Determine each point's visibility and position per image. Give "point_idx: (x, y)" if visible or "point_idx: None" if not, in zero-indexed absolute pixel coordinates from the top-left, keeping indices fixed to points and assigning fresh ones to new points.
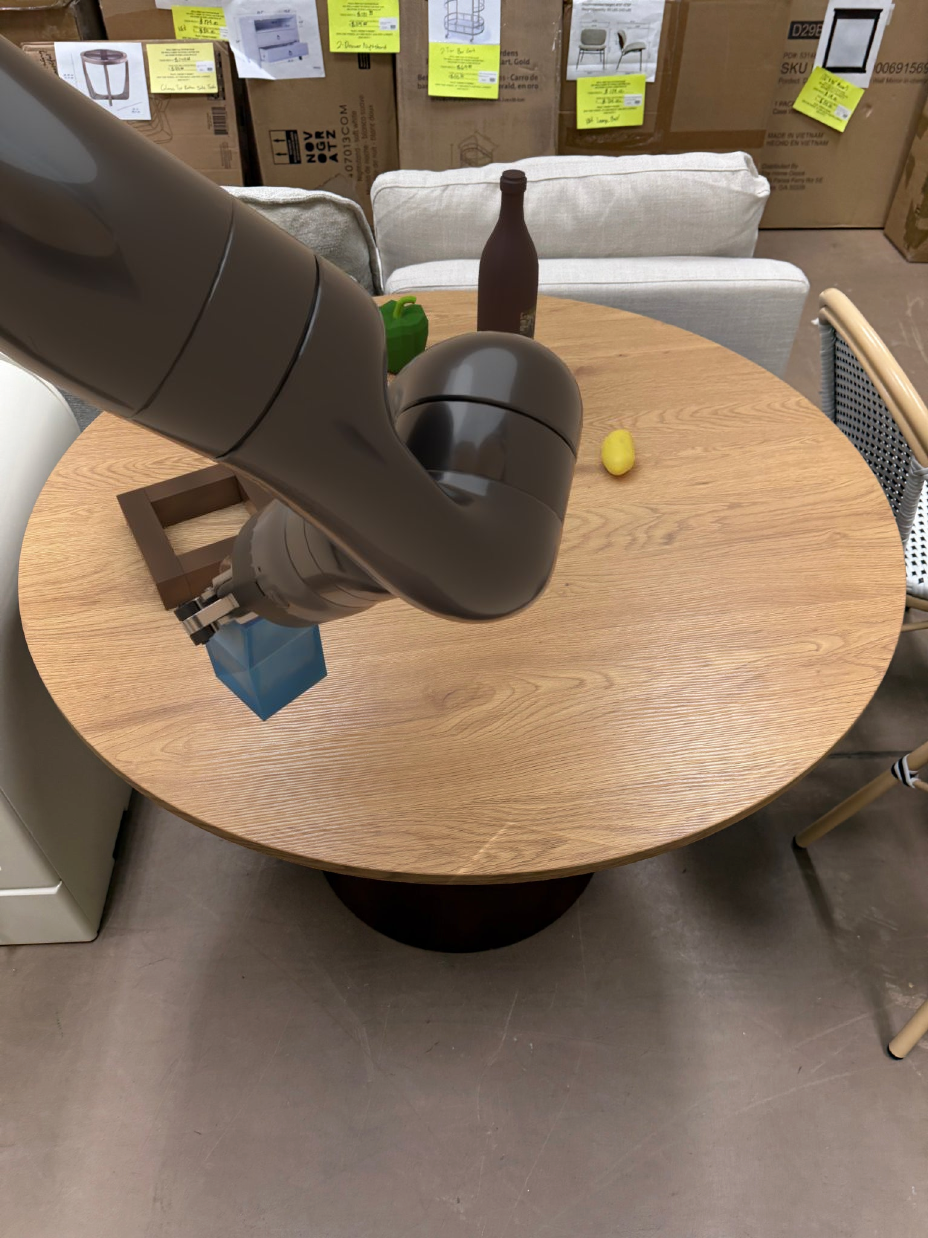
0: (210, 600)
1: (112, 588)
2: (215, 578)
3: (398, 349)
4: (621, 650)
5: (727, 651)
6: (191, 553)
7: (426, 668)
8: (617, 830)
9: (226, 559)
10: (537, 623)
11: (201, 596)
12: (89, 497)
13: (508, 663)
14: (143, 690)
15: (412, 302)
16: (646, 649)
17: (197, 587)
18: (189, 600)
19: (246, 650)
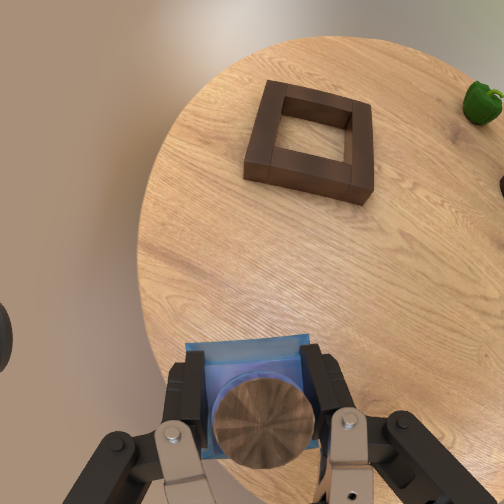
0: (159, 463)
1: (224, 139)
2: (167, 498)
3: (480, 111)
4: (473, 425)
5: (500, 450)
6: (285, 151)
7: (378, 368)
8: None
9: (247, 386)
10: (456, 376)
11: (184, 369)
12: (256, 72)
13: (422, 398)
14: (186, 236)
15: (500, 96)
16: (481, 431)
17: (273, 178)
18: (119, 451)
19: (203, 455)
